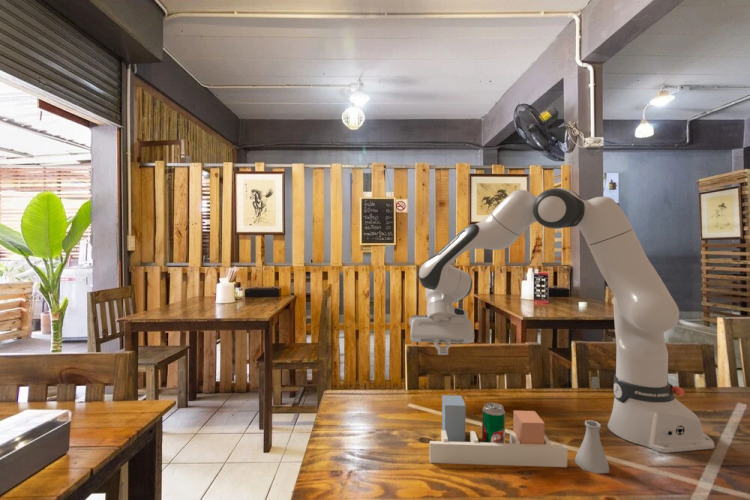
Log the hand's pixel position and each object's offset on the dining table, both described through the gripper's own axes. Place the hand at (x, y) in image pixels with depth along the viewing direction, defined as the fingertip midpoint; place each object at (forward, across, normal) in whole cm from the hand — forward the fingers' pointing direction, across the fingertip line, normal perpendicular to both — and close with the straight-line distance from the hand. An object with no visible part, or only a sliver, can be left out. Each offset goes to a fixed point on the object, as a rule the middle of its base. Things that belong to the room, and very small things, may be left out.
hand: (443, 353), depth 119 cm
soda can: (+32, +8, -10) cm, 34 cm away
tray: (+29, +8, -8) cm, 31 cm away
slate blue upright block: (+25, 0, -5) cm, 26 cm away
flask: (+34, +29, -12) cm, 46 cm away
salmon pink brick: (+31, +16, -11) cm, 36 cm away
